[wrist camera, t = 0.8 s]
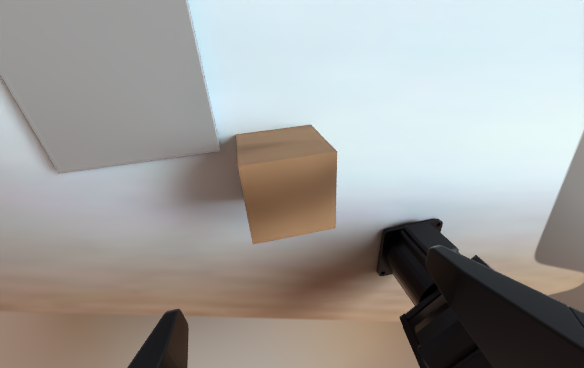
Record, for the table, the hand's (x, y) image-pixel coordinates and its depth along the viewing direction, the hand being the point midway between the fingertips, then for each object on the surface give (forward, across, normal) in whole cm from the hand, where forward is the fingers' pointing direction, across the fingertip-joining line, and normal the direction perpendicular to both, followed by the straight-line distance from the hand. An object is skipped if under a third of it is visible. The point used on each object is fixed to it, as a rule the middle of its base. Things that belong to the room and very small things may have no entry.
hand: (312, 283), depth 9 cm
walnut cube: (+12, 0, +1) cm, 12 cm away
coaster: (+12, +8, -6) cm, 16 cm away
